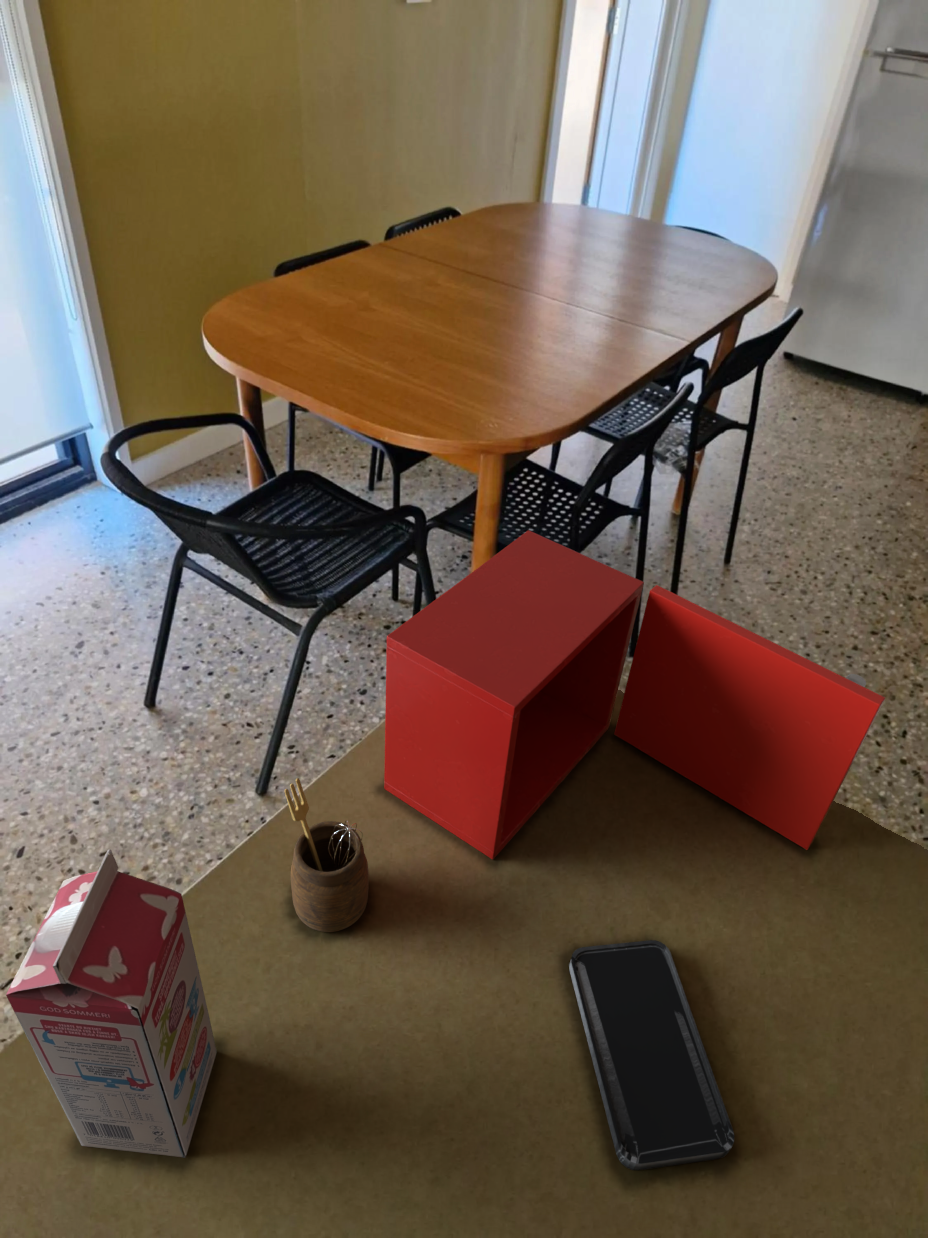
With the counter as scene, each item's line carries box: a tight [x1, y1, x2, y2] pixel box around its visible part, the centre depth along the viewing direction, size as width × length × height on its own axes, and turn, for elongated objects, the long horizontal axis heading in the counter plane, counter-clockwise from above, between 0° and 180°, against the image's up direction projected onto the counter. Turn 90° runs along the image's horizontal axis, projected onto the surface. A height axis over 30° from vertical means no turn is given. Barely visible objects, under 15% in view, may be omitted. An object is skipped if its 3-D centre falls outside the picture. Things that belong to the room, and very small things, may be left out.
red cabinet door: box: [613, 584, 886, 851], centre depth 79 cm, size 8×20×18 cm, turn 50°
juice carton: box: [5, 849, 218, 1158], centre depth 51 cm, size 7×7×22 cm
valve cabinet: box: [383, 529, 645, 860], centre depth 78 cm, size 12×20×18 cm, turn 143°
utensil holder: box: [284, 777, 370, 933], centre depth 67 cm, size 6×6×12 cm
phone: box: [568, 939, 735, 1171], centre depth 62 cm, size 8×1×15 cm
